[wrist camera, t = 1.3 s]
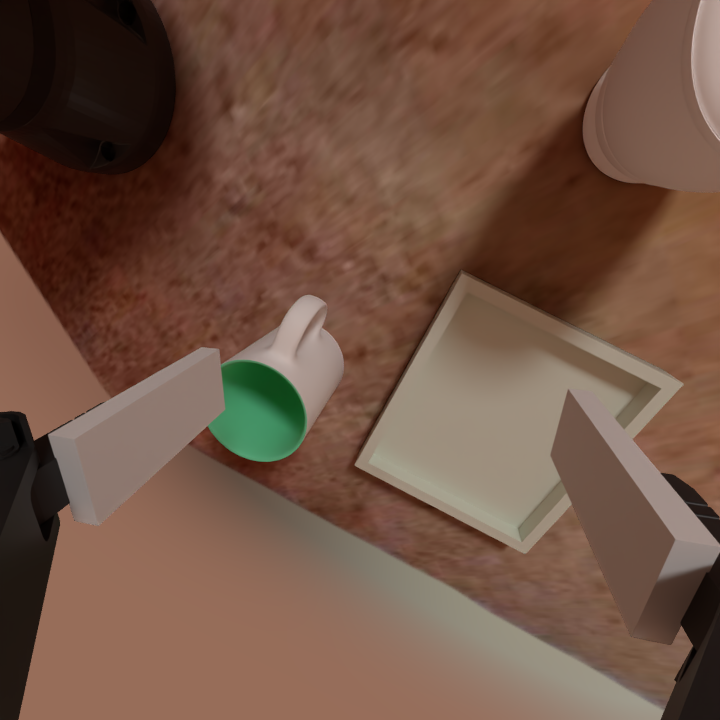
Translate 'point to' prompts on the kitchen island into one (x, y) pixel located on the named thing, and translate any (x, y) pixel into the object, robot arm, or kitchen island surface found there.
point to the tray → (500, 410)
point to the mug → (279, 385)
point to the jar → (661, 101)
